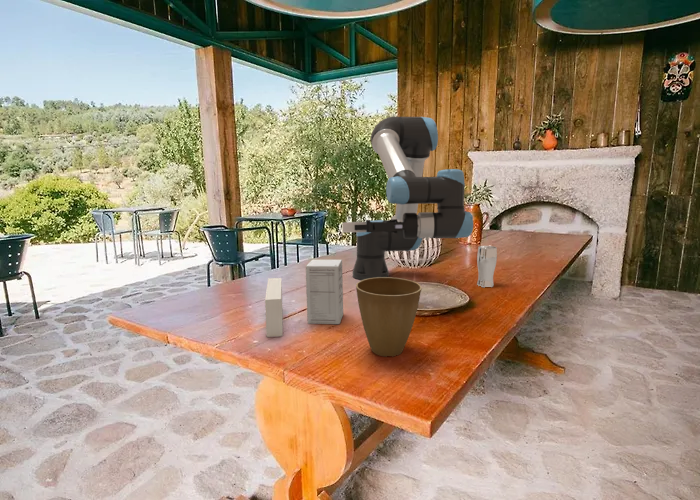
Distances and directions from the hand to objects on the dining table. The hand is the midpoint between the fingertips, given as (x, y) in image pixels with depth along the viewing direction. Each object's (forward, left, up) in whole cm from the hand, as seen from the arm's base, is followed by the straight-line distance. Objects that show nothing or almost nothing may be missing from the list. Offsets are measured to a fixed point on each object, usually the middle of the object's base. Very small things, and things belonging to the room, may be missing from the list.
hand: (343, 227), depth 112 cm
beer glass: (-58, -21, -27) cm, 67 cm away
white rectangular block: (+21, +4, -26) cm, 34 cm away
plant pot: (-6, +28, -27) cm, 39 cm away
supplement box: (+6, +4, -27) cm, 27 cm away
